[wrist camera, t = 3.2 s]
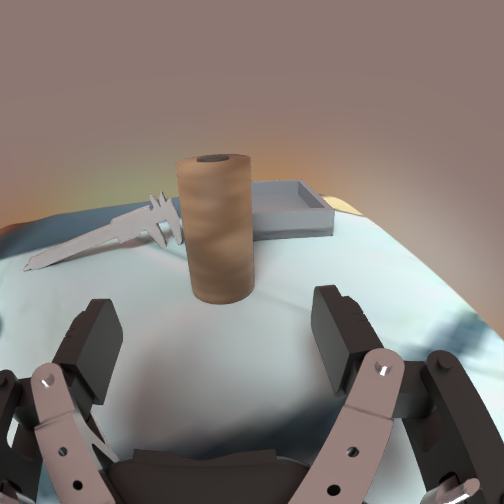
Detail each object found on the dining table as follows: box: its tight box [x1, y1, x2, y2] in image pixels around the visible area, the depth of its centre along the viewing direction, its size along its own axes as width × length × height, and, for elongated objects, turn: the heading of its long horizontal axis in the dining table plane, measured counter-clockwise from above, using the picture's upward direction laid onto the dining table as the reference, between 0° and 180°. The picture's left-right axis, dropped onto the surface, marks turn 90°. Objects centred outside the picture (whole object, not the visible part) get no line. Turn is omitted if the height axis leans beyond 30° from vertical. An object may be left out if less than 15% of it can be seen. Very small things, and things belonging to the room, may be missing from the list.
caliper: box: [23, 190, 182, 271], centre depth 27 cm, size 20×1×6 cm, turn 106°
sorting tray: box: [182, 180, 335, 240], centre depth 36 cm, size 16×14×3 cm
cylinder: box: [176, 154, 254, 304], centre depth 21 cm, size 5×5×10 cm
